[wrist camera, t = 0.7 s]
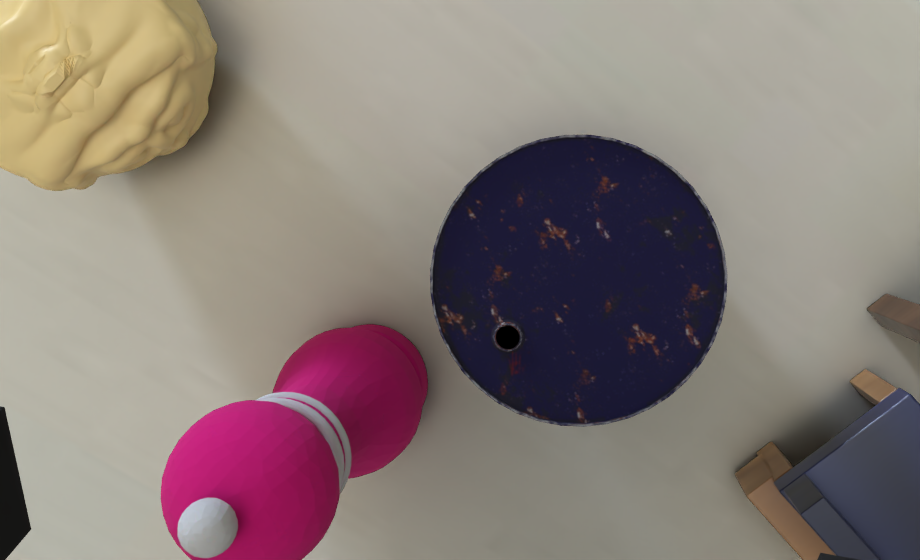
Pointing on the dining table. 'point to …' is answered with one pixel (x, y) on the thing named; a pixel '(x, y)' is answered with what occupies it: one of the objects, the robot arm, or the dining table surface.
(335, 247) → the dining table surface
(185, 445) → the pepper mill
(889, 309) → the little table
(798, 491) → the blue toy chair
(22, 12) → the sculpture
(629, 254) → the dark blue barrel
